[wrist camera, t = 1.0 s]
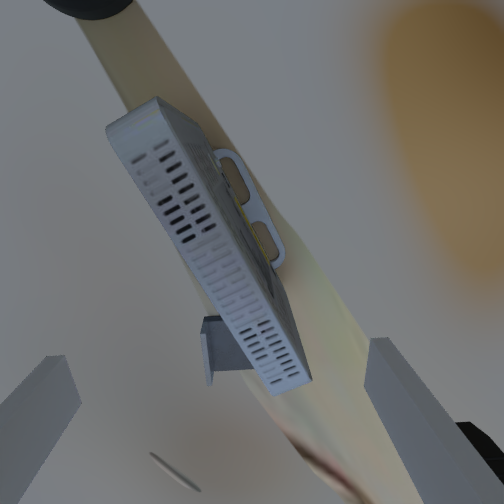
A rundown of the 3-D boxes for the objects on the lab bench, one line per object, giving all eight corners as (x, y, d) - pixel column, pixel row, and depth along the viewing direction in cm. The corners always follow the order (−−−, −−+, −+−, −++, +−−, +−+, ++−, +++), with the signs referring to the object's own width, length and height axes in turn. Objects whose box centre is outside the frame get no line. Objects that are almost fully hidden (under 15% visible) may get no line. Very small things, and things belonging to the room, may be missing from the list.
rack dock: (204, 316, 44) (200, 334, 40) (281, 312, 44) (285, 329, 40) (210, 365, 47) (206, 385, 43) (281, 360, 47) (285, 381, 43)
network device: (161, 148, 35) (65, 141, 16) (219, 114, 34) (190, 65, 15) (249, 300, 43) (254, 413, 24) (299, 277, 42) (345, 377, 23)
